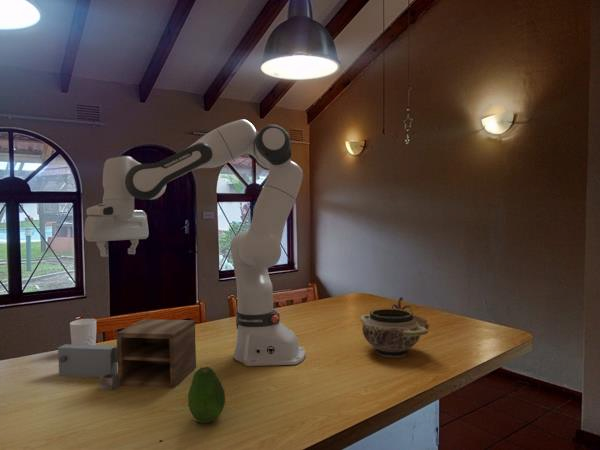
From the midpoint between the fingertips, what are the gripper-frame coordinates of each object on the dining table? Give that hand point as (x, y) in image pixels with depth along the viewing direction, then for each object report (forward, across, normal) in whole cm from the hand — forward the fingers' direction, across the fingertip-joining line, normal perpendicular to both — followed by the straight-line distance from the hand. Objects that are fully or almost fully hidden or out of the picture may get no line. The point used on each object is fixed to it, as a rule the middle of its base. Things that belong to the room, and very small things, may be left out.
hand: (118, 255), depth 131 cm
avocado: (+32, +15, +50) cm, 61 cm away
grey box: (+33, +10, +3) cm, 35 cm away
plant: (+30, -77, +64) cm, 105 cm away
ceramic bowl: (+30, -46, +71) cm, 90 cm away
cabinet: (+32, +4, +19) cm, 38 cm away
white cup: (+33, -1, -19) cm, 38 cm away
